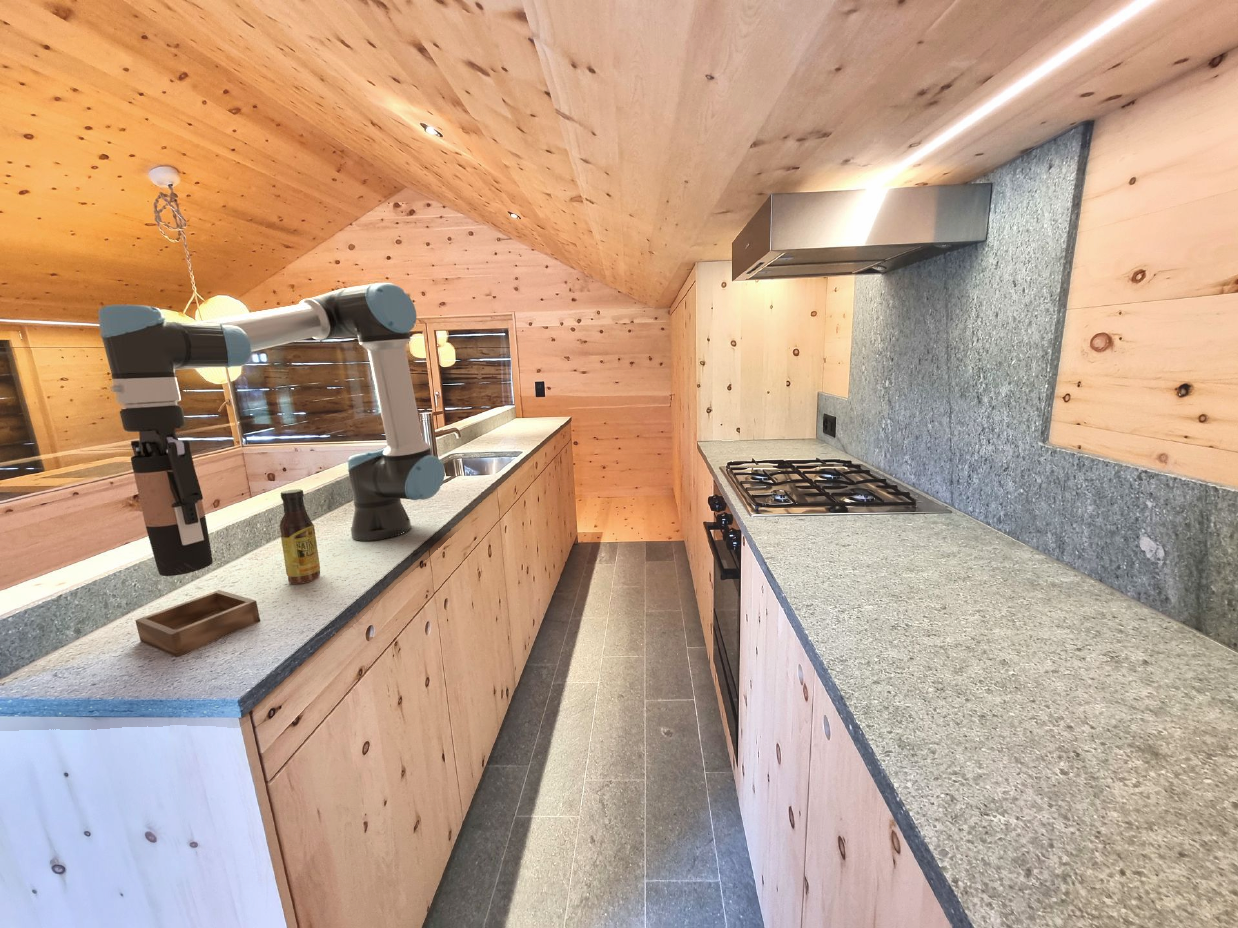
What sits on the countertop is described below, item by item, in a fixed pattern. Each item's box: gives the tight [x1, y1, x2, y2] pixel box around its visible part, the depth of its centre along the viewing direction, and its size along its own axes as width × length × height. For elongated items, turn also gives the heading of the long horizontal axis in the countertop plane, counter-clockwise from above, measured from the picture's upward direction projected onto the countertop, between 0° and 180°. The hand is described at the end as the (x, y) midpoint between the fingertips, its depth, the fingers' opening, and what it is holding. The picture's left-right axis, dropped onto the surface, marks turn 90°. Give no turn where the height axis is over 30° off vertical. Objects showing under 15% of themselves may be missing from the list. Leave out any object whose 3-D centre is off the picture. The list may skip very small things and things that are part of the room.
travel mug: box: [130, 450, 214, 577], centre depth 84 cm, size 8×8×20 cm
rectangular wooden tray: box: [134, 589, 261, 658], centre depth 88 cm, size 12×12×4 cm
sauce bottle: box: [279, 488, 321, 585], centre depth 107 cm, size 7×6×20 cm
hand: (180, 539), depth 85 cm, fingers closed on travel mug, 8 cm apart
